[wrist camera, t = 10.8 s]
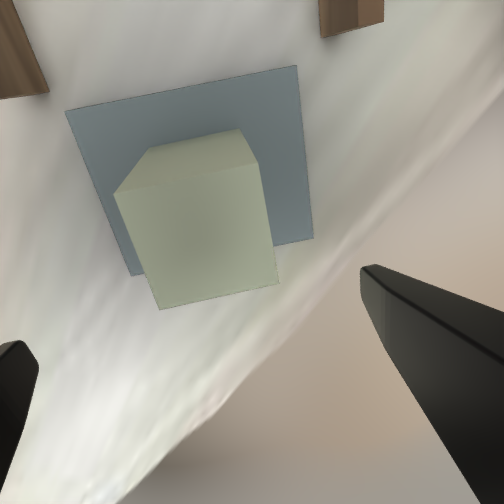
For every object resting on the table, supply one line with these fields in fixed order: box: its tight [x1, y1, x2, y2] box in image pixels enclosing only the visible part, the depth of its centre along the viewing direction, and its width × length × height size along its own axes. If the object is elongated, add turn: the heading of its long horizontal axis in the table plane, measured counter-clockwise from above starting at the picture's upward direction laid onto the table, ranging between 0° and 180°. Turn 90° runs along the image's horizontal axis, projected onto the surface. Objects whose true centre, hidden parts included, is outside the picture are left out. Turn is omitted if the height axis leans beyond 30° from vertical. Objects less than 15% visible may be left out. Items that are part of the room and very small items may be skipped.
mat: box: [65, 65, 314, 276], centre depth 20 cm, size 12×10×1 cm
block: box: [113, 128, 280, 310], centre depth 16 cm, size 5×5×8 cm
